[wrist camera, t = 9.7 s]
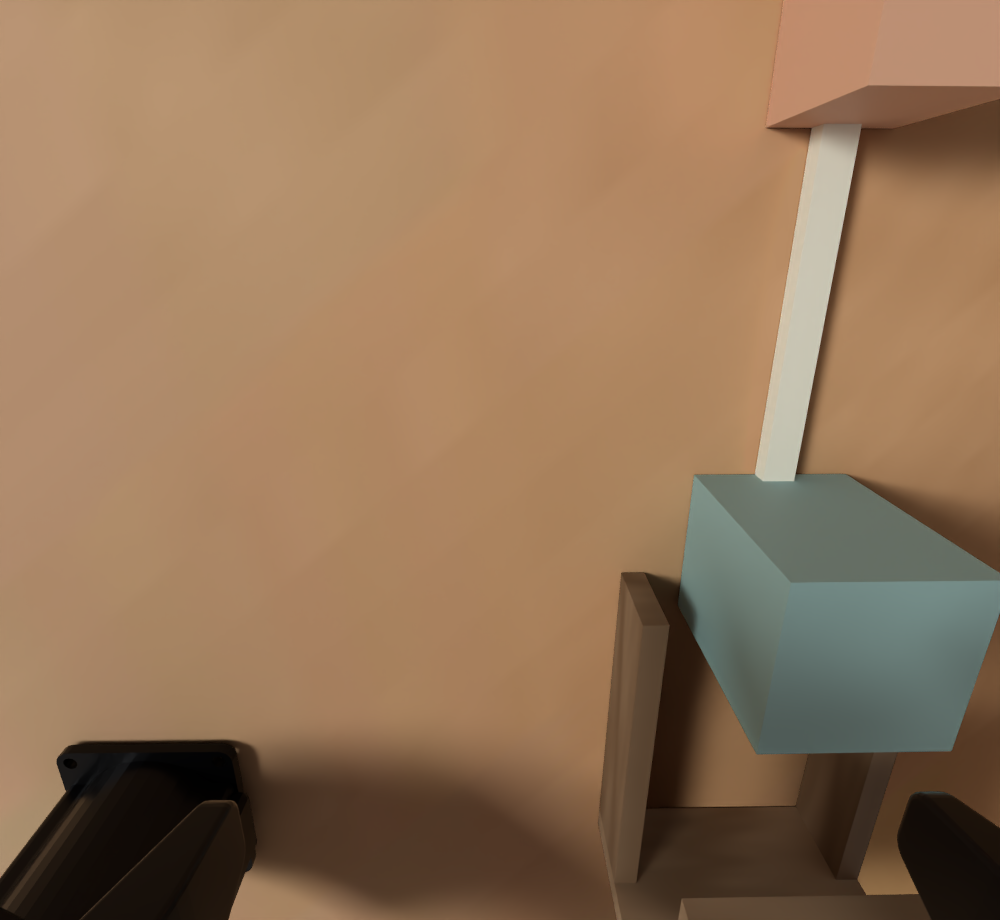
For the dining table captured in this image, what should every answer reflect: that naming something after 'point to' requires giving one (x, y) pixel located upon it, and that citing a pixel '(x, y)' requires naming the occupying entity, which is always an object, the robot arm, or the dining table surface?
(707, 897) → the shelf lane
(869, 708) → the tethered block
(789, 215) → the dining table surface
